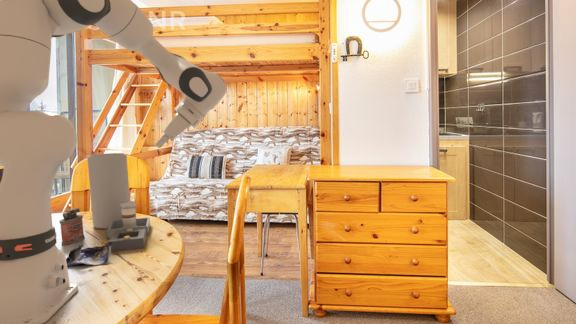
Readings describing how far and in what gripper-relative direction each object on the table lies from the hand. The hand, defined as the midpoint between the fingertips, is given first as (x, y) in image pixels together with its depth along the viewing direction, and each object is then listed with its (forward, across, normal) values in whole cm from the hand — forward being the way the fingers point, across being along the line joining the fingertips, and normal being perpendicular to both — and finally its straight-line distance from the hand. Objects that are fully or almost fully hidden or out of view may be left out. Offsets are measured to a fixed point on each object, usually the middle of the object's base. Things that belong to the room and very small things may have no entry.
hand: (157, 145), depth 125 cm
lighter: (+39, 0, +2) cm, 39 cm away
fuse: (+27, -4, +12) cm, 30 cm away
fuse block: (+27, +10, +14) cm, 32 cm away
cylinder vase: (+32, -17, +8) cm, 37 cm away
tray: (+27, -4, +13) cm, 31 cm away
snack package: (+34, +21, +8) cm, 41 cm away
